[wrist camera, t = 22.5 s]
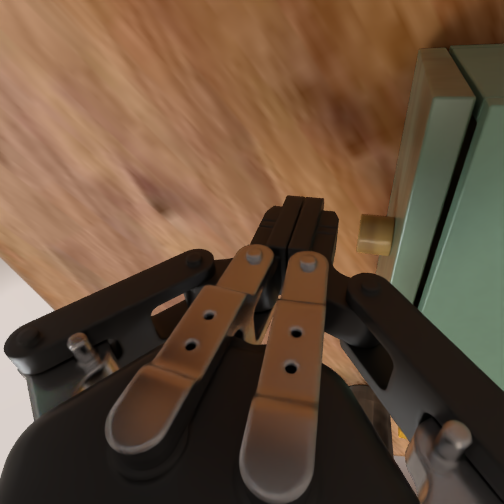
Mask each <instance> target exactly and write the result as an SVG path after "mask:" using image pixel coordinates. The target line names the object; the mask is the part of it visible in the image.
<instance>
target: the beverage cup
mask: <svg viewBox="0 0 504 504" xmlns="http://www.w3.org/2000/svg"><path fill="white" fill-rule="evenodd" d="M349 388H350V389H351V391H352V392H353V394H354V395H355V397H356V399H357V400H358V402H359V404H360V405H361V407H362V408H363V410H364V412H365V413H366V415H367V417H368V418H369V420H370V421H371V423H372V425H373V426H374V428H375V429H376V431H377V433H378V434H379V436H380V438H381V439H382V441H383V442H384V444H385V446H386V447H387V449H388V450H389V452H390V454H391V455H392V457H393V445H392V432H391V420H390V414H389V413H388V411H387V410H386V408H385V407H384V406H383V404H382V403H381V401H380V400H379V399H378V397H377V396H376V394H375V393H374V392H373V390H372V389H371V388H370V387H369V386H363V385H355V386H350V387H349ZM393 459H394V458H393Z"/></svg>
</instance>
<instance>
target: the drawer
mask: <svg viewBox="0 0 504 504" xmlns="http://www.w3.org/2000/svg"><path fill="white" fill-rule="evenodd" d="M475 102H476V96H475V95H474V93H473V91H472V90H471V88H470V87H469V85H468V83H467V82H466V80H465V78H464V77H463V75H462V73H461V72H460V70H459V69H458V67H457V65H456V64H455V62H454V60H453V59H452V57H451V55H450V54H449V52H448V50H447V49H446V48H421V49H419V51H418V57H417V62H416V67H415V72H414V77H413V83H412V88H411V93H410V98H409V103H408V109H407V114H406V119H405V124H404V129H403V135H402V140H401V145H400V150H399V155H398V161H397V166H396V171H395V176H394V181H393V187H392V192H391V197H390V202H389V207H388V213H387V216H379V215H368V214H362V215H361V220H360V227H359V235H358V242H357V249H356V252H358V253H366V254H374V255H379V259H378V265H377V270H376V274H377V275H379V276H382V277H384V278H385V279H387V280H388V281H389V282H390V283H391V284H392V285H393V286H394V287H395V288H396V289H397V290H398V291H399V292H400V293H401V294H403V295H404V296H405V297H406V298H407V299H408V300H409V301H410V302H411V303H412V304H413V305H414V306H417V307H418V306H419V303H420V300H421V297H422V294H423V290H424V287H425V284H426V281H427V278H428V275H429V272H430V269H431V266H432V262H433V259H434V256H435V253H436V250H437V247H438V244H439V241H440V238H441V235H442V231H443V228H444V225H445V222H446V219H447V216H448V213H449V210H450V207H451V203H452V200H453V197H454V194H455V191H456V188H457V185H458V182H459V179H460V175H461V172H462V169H463V166H464V163H465V160H466V157H467V154H468V151H469V148H470V144H471V141H472V138H473V135H474V132H475V129H476V126H477V122H476V120H475V118H474V116H473V114H472V111H473V108H474V105H475Z"/></svg>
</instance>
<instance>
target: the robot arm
mask: <svg viewBox="0 0 504 504" xmlns="http://www.w3.org/2000/svg"><path fill="white" fill-rule="evenodd" d="M323 209H324V198H312V197H306V198H305V197H300V196H289V195H288V196H287V197H286V199H285V202H284V204H283V206H282V207H280V206H273V207H272V208H270V209H269V210H268V211H267V212H266V213H265V215H264V217H263V219H262V221H261V223H260V225H259V227H258V229H257V231H256V233H255V235H254V237H253V239H252V241H251V243H250V245H247V246H245V247H243V248H241V249H240V250H239V251H238V252H237V253H236V255H235V256H234V258H231V259H222V260H214V257H213V255H212V253H210V252H209V251H207V250H204V249H193V250H189V251H186V252H184V253H182V254H180V255H178V256H175V257H173V258H171V259H169V260H166V261H164V262H162V263H160V264H158V265H155V266H153V267H151V268H149V269H147V270H144V271H142V272H140V273H138V274H135V275H133V276H131V277H129V278H127V279H124V280H122V281H120V282H118V283H115V284H113V285H111V286H109V287H107V288H104V289H102V290H100V291H98V292H96V293H93V294H91V295H89V296H87V297H84V298H82V299H80V300H78V301H76V302H73V303H71V304H69V305H67V306H65V307H62V308H60V309H58V310H56V311H53V312H51V313H49V314H47V315H45V316H42V317H40V318H38V319H36V320H33V321H31V322H29V323H27V324H25V325H23V326H21V327H20V328H18V329H17V330H15V331H14V332H13V333H12V334H11V335H10V336H9V338H8V339H7V341H6V342H5V345H4V352H5V354H6V355H7V356H8V358H9V359H10V360H11V361H12V362H13V363H14V364H15V366H16V367H17V368H18V371H19V372H20V374H21V375H22V376H23V377H24V378H25V379H26V380H27V385H28V391H29V396H30V401H31V406H32V411H33V417H34V422H33V423H32V424H31V425H30V426H29V427H28V428H27V429H26V430H25V431H24V432H23V433H22V435H21V436H20V437H19V439H18V440H17V441H16V443H15V445H14V446H13V448H12V449H11V451H10V453H9V455H8V457H7V459H6V462H5V465H4V468H3V471H2V474H1V478H0V504H504V391H503V390H502V389H501V388H500V387H499V386H498V385H497V384H496V383H494V382H493V381H492V380H491V379H490V378H489V377H488V376H487V375H486V374H485V373H484V372H483V371H482V370H481V369H480V368H479V367H478V366H477V365H476V364H475V363H474V362H473V361H471V360H470V359H469V358H468V357H467V356H466V355H465V354H464V353H463V352H462V351H461V350H460V349H459V348H458V347H457V346H456V345H455V344H454V343H453V342H452V341H451V340H450V339H448V338H447V337H446V336H445V335H444V334H443V333H442V332H441V331H440V330H439V329H438V328H437V327H436V326H435V325H434V324H433V323H432V322H431V321H430V320H429V319H428V318H427V317H426V316H424V315H423V314H422V313H421V312H420V311H419V310H418V309H417V308H416V307H415V306H414V305H413V304H412V303H411V302H410V301H409V300H408V299H407V298H406V297H405V296H404V295H403V294H401V293H400V292H399V291H398V290H397V289H396V288H395V287H394V286H393V285H392V284H391V283H390V282H389V281H388V280H387V279H385V278H384V277H382V276H379V275H377V274H372V273H360V274H357V275H354V276H353V277H351V278H350V277H347V276H345V275H342V274H341V273H339V272H338V271H337V270H336V269H335V268H334V267H333V261H334V256H335V250H336V242H337V233H338V223H339V219H338V217H337V215H336V213H335V212H333V211H323ZM183 293H184V296H185V300H184V301H182V302H180V303H178V304H176V305H174V306H172V307H170V308H168V309H166V310H164V311H162V312H160V313H158V314H156V315H154V316H151V313H152V311H153V310H154V309H155V308H156V307H157V306H159V305H161V304H163V303H165V302H167V301H169V300H171V299H173V298H175V297H177V296H179V295H181V294H183ZM279 295H281V298H280V299H278V296H279ZM272 318H273V319H272ZM271 320H272V323H271V328H270V332H269V337H268V341H267V345H261V343H262V341H263V338H264V336H265V334H266V331H267V329H268V327H269V325H270V322H271ZM324 332H326V333H328V334H330V335H332V336H334V337H336V338H338V339H340V345H341V347H342V349H343V350H344V351H345V353H346V354H347V356H348V357H349V358H350V360H351V361H352V363H353V364H354V365H355V367H356V368H357V369H358V371H359V372H360V374H361V375H362V376H363V378H364V379H365V381H366V382H367V383H368V385H369V386H370V388H371V389H372V390H373V392H374V393H375V394H376V396H377V397H378V399H379V400H380V401H381V403H382V404H383V406H384V407H385V408H386V410H387V411H388V413H389V414H390V415H391V417H392V418H393V420H394V421H395V422H396V424H397V425H398V426H399V428H400V429H401V431H402V432H403V433H404V435H405V436H406V438H407V439H408V440H409V442H410V443H409V445H408V447H407V449H406V453H405V462H406V466H407V469H408V472H409V474H410V475H411V477H412V479H413V481H414V484H415V486H416V490H417V496H418V497H417V496H416V494H415V492H414V491H413V490H412V488H411V486H410V484H409V483H408V481H407V480H406V478H405V476H404V475H403V473H402V472H401V470H400V468H399V467H398V465H397V463H396V462H395V460H394V459H393V457H392V455H391V454H390V452H389V450H388V449H387V447H386V446H385V444H384V442H383V441H382V439H381V438H380V436H379V434H378V433H377V431H376V429H375V428H374V426H373V425H372V423H371V421H370V420H369V418H368V417H367V415H366V413H365V412H364V410H363V408H362V407H361V405H360V404H359V402H358V400H357V399H356V397H355V395H354V394H353V392H352V391H351V389H350V388H349V386H348V385H347V384H346V382H345V381H344V380H343V379H342V378H341V377H340V376H339V375H338V374H337V373H336V372H335V371H333V370H332V369H331V368H329V367H328V366H326V365H324V364H323V363H322V352H323V339H324Z"/></svg>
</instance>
